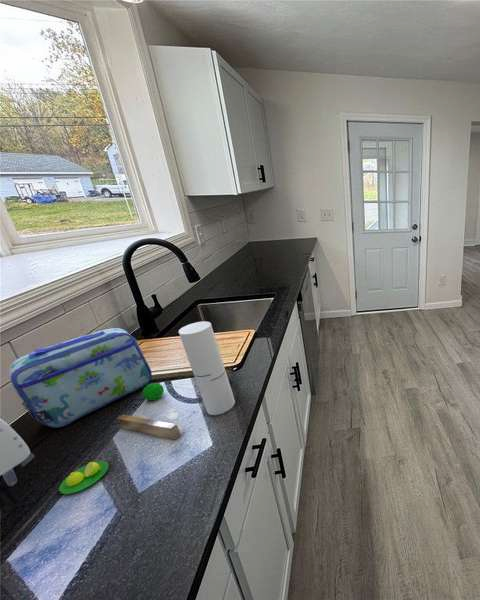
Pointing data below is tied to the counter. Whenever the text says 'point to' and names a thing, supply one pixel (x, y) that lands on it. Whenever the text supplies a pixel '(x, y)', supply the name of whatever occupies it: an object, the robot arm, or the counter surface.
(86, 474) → the plate of yellow fruit
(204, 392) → the cylindrical container
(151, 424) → the rail
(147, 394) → the polyhedron
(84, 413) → the lunch box
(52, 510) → the counter surface
